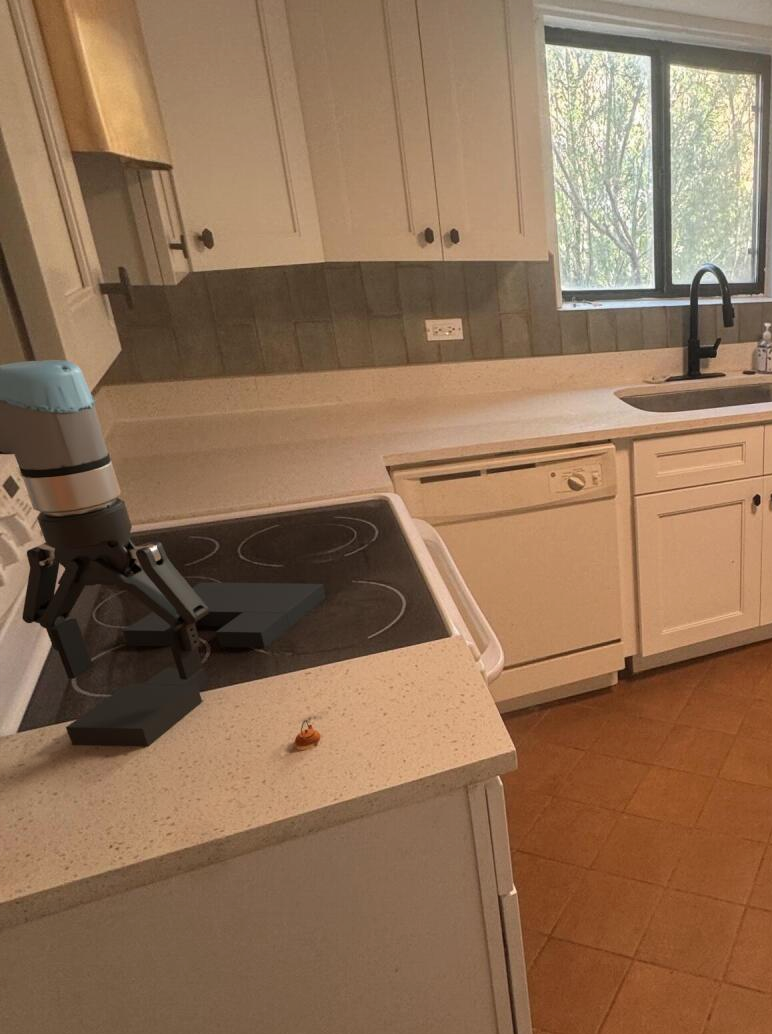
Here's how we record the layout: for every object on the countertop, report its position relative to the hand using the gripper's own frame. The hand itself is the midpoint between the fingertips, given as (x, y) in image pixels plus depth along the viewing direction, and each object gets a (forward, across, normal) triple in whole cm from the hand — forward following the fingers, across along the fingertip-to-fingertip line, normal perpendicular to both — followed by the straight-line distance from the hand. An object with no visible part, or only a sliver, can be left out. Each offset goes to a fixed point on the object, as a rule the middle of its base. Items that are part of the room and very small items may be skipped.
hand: (136, 673), depth 93 cm
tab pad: (+8, 0, -1) cm, 8 cm away
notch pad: (+8, +6, -25) cm, 27 cm away
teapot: (+8, -21, +2) cm, 22 cm away
